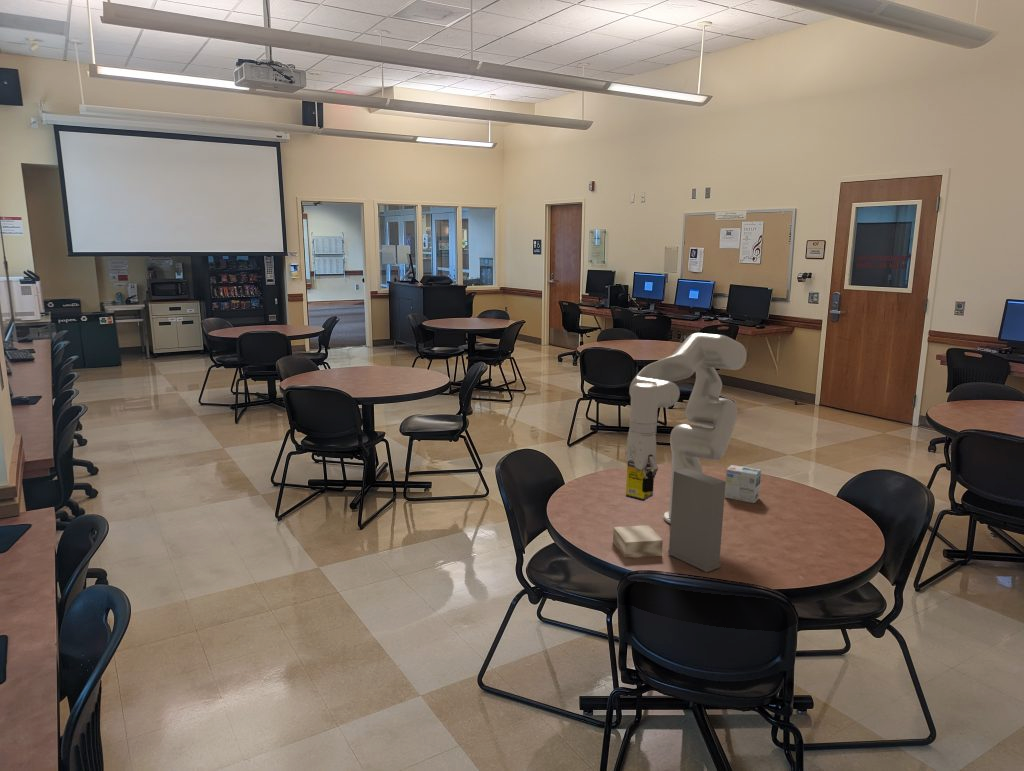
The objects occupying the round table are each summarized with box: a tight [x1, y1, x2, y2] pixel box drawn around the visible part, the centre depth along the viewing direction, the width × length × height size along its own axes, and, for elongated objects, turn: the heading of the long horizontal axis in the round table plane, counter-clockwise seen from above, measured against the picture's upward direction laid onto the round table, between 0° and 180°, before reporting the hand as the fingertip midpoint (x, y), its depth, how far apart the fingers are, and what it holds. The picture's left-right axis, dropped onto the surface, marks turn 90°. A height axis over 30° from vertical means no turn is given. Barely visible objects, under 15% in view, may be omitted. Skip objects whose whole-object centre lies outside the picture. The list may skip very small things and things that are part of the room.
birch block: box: [612, 524, 664, 558], centre depth 201 cm, size 11×11×5 cm
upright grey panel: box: [667, 468, 726, 573], centre depth 192 cm, size 14×6×25 cm, turn 35°
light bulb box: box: [724, 464, 762, 504], centre depth 243 cm, size 11×7×11 cm, turn 57°
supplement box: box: [625, 460, 654, 502], centre depth 197 cm, size 6×6×11 cm
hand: (639, 486), depth 198 cm, fingers closed on supplement box, 8 cm apart
